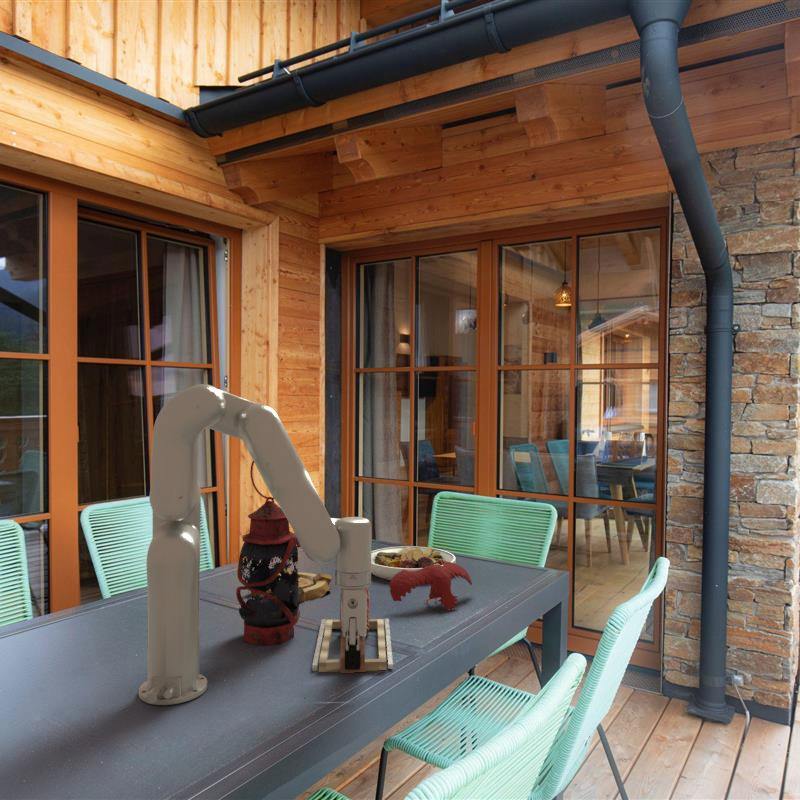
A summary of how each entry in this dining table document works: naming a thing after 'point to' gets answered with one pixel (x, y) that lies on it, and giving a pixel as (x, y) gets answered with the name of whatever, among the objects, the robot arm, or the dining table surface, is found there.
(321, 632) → the guide rails
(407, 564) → the bowl
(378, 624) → the pull frame
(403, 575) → the decorative bird sculpture
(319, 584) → the ashtray
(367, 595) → the soda can
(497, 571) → the dining table surface
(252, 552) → the lantern
